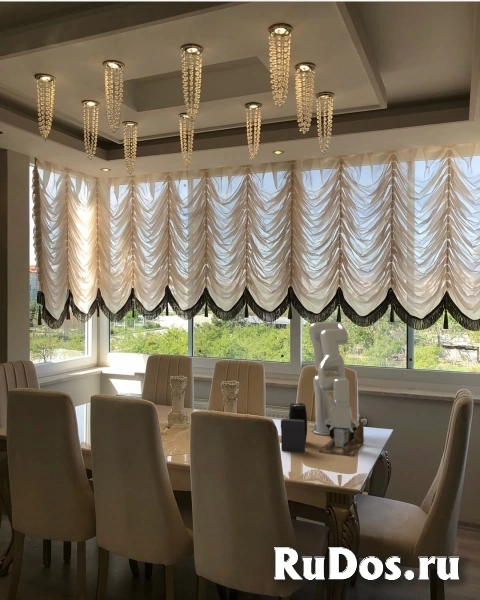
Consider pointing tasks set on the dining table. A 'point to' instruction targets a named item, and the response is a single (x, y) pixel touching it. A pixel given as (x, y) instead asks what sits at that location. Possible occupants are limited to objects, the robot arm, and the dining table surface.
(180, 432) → the dining table surface
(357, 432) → the book rack
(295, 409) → the portable speaker
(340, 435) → the medicine box
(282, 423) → the calculator
